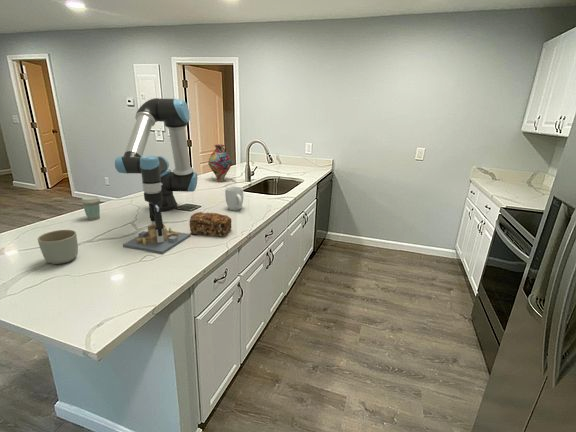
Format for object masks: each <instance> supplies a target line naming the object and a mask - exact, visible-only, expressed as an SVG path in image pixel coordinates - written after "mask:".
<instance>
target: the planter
mask: <svg viewBox="0 0 576 432" xmlns="http://www.w3.org/2000/svg"><path fill="white" fill-rule="evenodd" d="M37 237H38V238H37V243H38V246H39V249H40V251H41V254H42V257H43V258H44V260H45V261H46V262H47V263H49V264H53V265H63V264H66V263H69V262H72V261H73V260H74V259H75V258H76V257H77V255H78V253H79V246H78V236H77V232H76V231H75V230H73V229H58V230H53V231H49V232H46V233H43V234H40V236H37Z"/></svg>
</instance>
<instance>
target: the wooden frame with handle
mask: <svg viewBox="0 0 576 432" xmlns="http://www.w3.org/2000/svg"><path fill="white" fill-rule="evenodd" d="M163 227H164V228H163V237H164V241H166V240H168V238H169V237H171V236H176V237H178V236H179V235H178V232H179V231H175V232H172V233H167V230H168V229H167V226H166V225H165V223H163ZM154 228H156V225H147V232H148V235H149V236H148V237H142V238H136V237H135V238H136V239H137V243H143V238H145V239H146V242H150V241H151V243H155V242H157V235H156V230H155V229H154Z"/></svg>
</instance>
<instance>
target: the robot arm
mask: <svg viewBox="0 0 576 432" xmlns="http://www.w3.org/2000/svg"><path fill="white" fill-rule="evenodd" d="M189 109H190V108H189V106H188V104H187V102H186V101H185V100H184V99H180V98H158V97H155V98H150V99H148V100H146V101H145V102H144V103H143V104H142V105H140V107H139V108H138V109H137V111H136V113H135V117H134V119H135V122H134V125H133V126H134V127H133V129H132V131H131V134H130V138H129V139H128V143H127V145H126V148H125V152H124V154H123V156H121V155H120V156H117V157H116V158H115V159H114V167H115V170H116V171H117V173H120V174H140V175H141V181H142V191H143V197H144V201H145V202H148V209H149V210H148V211H149V212H148V213H149V219H150V224H151V225H156V228H155V230H156V235H157V242H158V243H159V242H164V237H163V228H164V227H163V224H164V223H163V217H162V212H167V211H173V210H175V209H177V207H178V203H177V199H176V198H175V196H174V192H186V193H188V192H189V193H190V192H194V191H195V190H196V189H197V187H198V185H197V184H198V172H195V171H194V168H193V167H191V162H190V161H191V160H190V156H189V154H190V153H189V148H188V140H187V132H186V127H187V126H188V123H189V122H190V121H191V120H190V119H191V118H190V117H191V116H190V110H189ZM157 122H162V123H163V122H164V127H166V128H167V129H168V133H169V139H170V140H169V141H170V144H171V145H170V146H171V151H172V156H173V157H172V158H173V164H174V169H173V170H171V169H169V166H170V162H169V161H168V159H167V158H166V157H164V156H161V155H160V156H156V155H144V152H145V148H146V145H147V142H148V139H149V136H150V134H151V130H152V127H153V126H154V127H155V124H156V123H157Z"/></svg>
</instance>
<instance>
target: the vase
mask: <svg viewBox="0 0 576 432" xmlns="http://www.w3.org/2000/svg"><path fill="white" fill-rule="evenodd" d="M214 147H215V149H214V151H212V153H211V154H210V156H209V157H208V160H207V161H208V162H207V163H208V166H209V168H210V170H211V171H212V172H213V174H214V175H215V177H216V180H215V182H216V183H225V182H226V179H225V178H226V175H227V174H228V173H229V171H230V168H231V166H232V164H233V163H232V159H231V156H230V154H229V153H227V152H226V150H224V147H225V144H214Z"/></svg>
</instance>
